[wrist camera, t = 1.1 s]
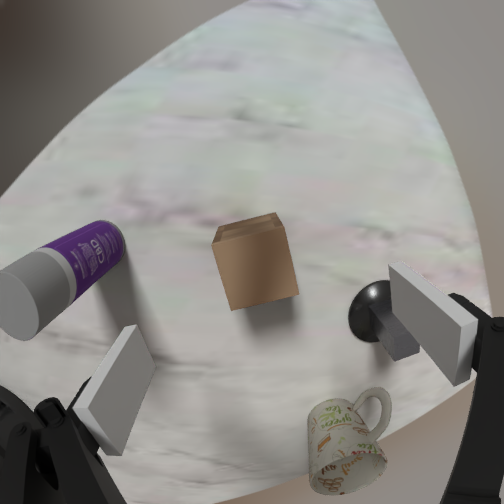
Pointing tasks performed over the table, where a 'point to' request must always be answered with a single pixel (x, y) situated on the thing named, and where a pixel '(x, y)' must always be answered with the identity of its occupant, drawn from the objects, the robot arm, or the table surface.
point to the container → (56, 277)
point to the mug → (345, 445)
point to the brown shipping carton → (254, 261)
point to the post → (380, 321)
